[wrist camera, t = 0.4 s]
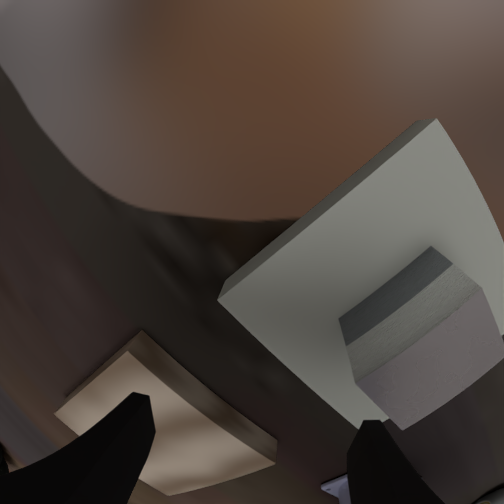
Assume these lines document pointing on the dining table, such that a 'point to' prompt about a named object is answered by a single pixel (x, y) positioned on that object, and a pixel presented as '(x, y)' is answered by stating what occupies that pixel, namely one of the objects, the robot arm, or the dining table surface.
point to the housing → (421, 338)
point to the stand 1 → (172, 419)
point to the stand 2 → (365, 258)
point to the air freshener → (492, 498)
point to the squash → (3, 465)
